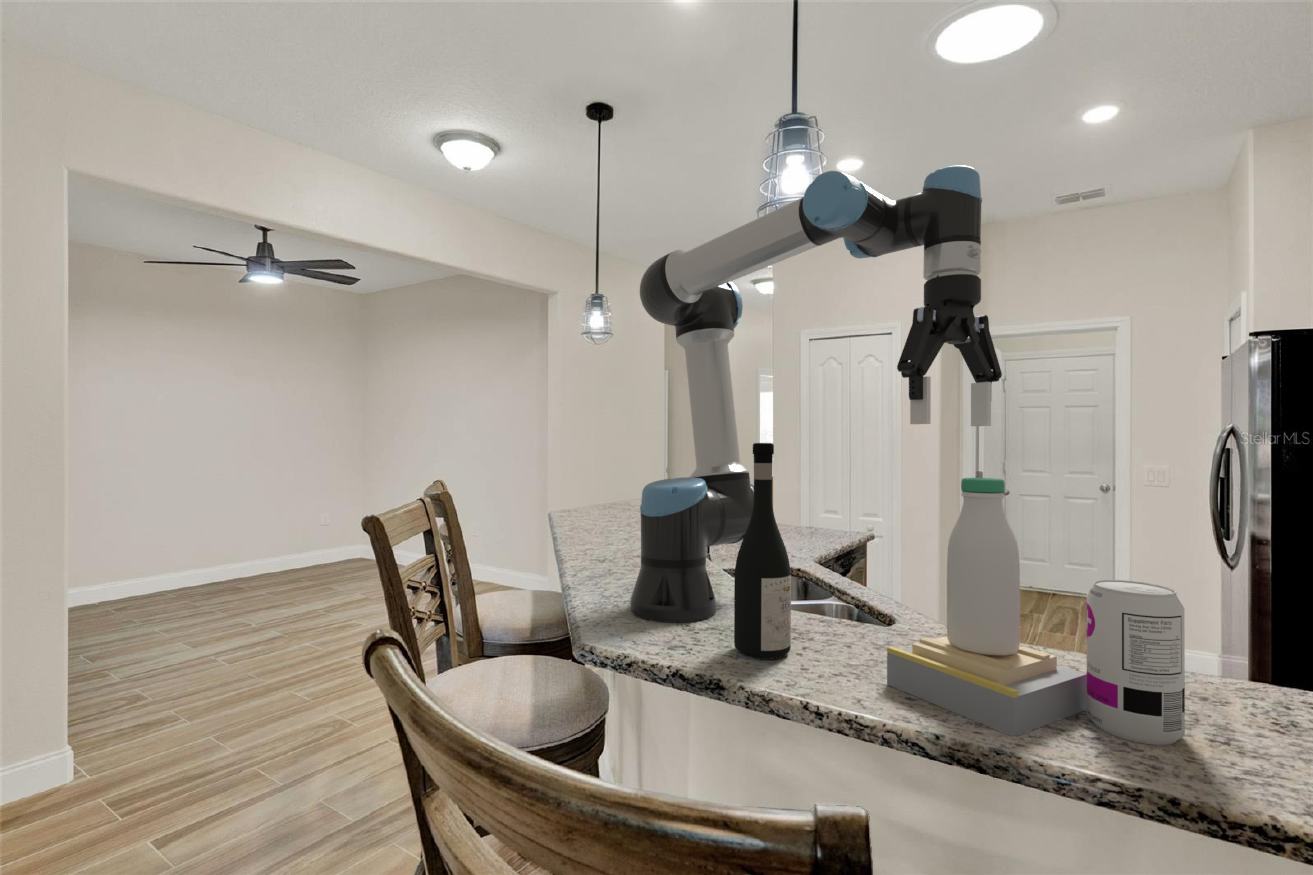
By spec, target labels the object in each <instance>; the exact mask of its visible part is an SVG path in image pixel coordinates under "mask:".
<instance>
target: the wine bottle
mask: <svg viewBox="0 0 1313 875" xmlns="http://www.w3.org/2000/svg"><path fill="white" fill-rule="evenodd" d="M774 452H775V444H774V443H772V442H754V443H753V444H752V455H753V485H754V505H753V511H752V516H751V519H750V523H749V525H748V528H747V531H746V533H745V536H744V538H743V540H742V541H741V544H740V547H739V549H738V552H737V555H736V556H737V557H736V561H735V568H734V595H733V596H734V597H733V598H734V600H733V602H734V605H733V606H734V608H733V609H734V610H733V611H734V614H733V616H734V618H733V620H734V621H733V622H734V624H733V630H734V631H733V632H734V633H733V634H734V635H733V637H734V638H733V639H734V641H733V643H734V647H735V649H736V650H737V651H738V653H739V654H741V655H743V656H746V657H749V658H752V659H758V660H775V659H779V658H782V657H784V656H786V655H787V654H788V653H789V652H791V644H792V643H791V642H792V640H791V639H792V635H791V633H792V626H791V624H792V620H791V619H792V617H791V616H792V572H791V571H792V570H791V566H790V565H791V564H790V560H789V556H788V551H787V548H786V545H785V543H784V539H783V538H782V535H781V532H780V530H779V527H778V524H777V521H776V517H775V513H774V508H773V506H774V505H773V469H774V466H773V463H774V462H773V461H774V460H773V458H774V455H775V453H774Z"/></svg>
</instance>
